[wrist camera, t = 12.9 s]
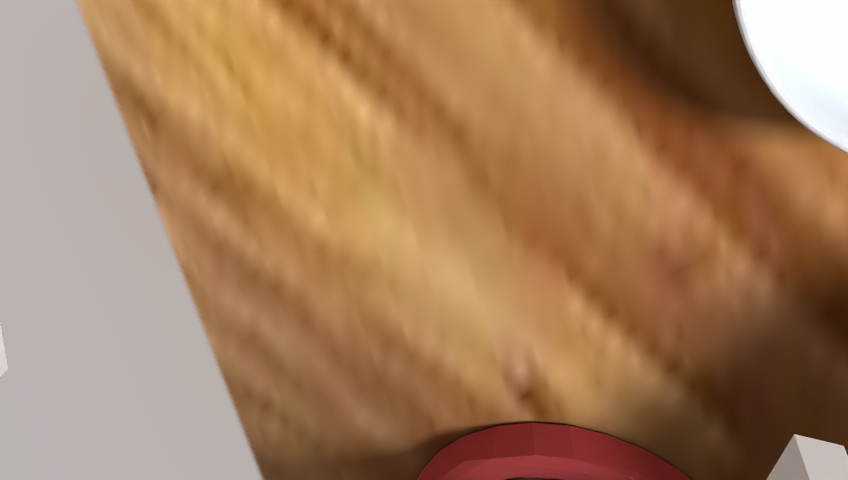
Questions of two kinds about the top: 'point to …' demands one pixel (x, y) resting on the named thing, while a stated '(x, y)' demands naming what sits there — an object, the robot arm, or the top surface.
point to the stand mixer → (545, 456)
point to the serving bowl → (802, 59)
